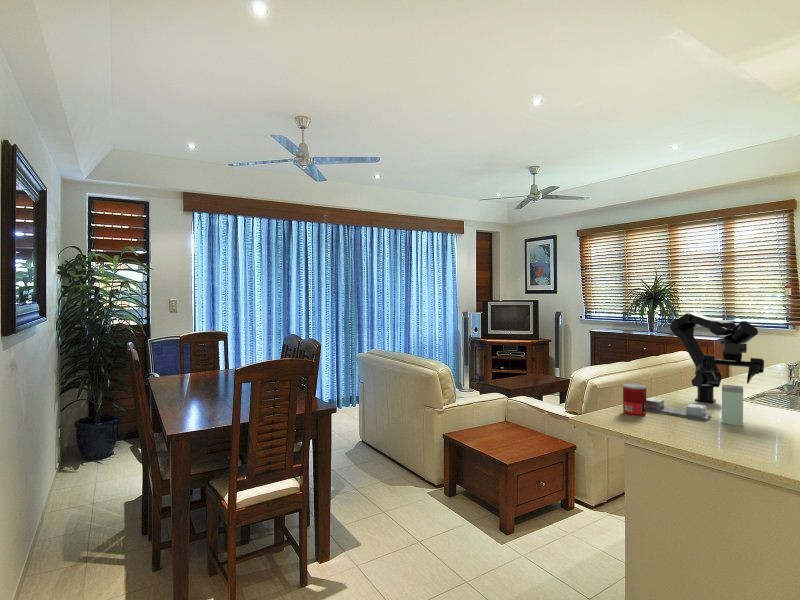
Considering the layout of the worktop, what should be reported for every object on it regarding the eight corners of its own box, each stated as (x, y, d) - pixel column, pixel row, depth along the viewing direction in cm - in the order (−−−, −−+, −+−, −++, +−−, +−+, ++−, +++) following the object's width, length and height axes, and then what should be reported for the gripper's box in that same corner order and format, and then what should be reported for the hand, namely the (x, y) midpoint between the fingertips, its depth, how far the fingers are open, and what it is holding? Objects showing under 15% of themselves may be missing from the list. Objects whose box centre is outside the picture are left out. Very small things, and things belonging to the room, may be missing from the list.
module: (722, 419, 163) (722, 384, 163) (742, 422, 159) (742, 386, 159) (721, 423, 159) (721, 386, 159) (742, 426, 155) (743, 389, 155)
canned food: (648, 417, 167) (648, 388, 167) (624, 415, 170) (624, 386, 170) (644, 411, 175) (644, 383, 174) (621, 410, 177) (621, 382, 177)
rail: (647, 406, 183) (647, 396, 183) (711, 416, 167) (711, 406, 167) (640, 409, 177) (640, 399, 177) (706, 421, 161) (706, 410, 161)
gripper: (702, 334, 175) (701, 366, 166) (764, 336, 164) (765, 371, 155) (703, 351, 181) (702, 383, 173) (762, 355, 170) (764, 389, 162)
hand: (732, 381), depth 165 cm, fingers open, 9 cm apart
